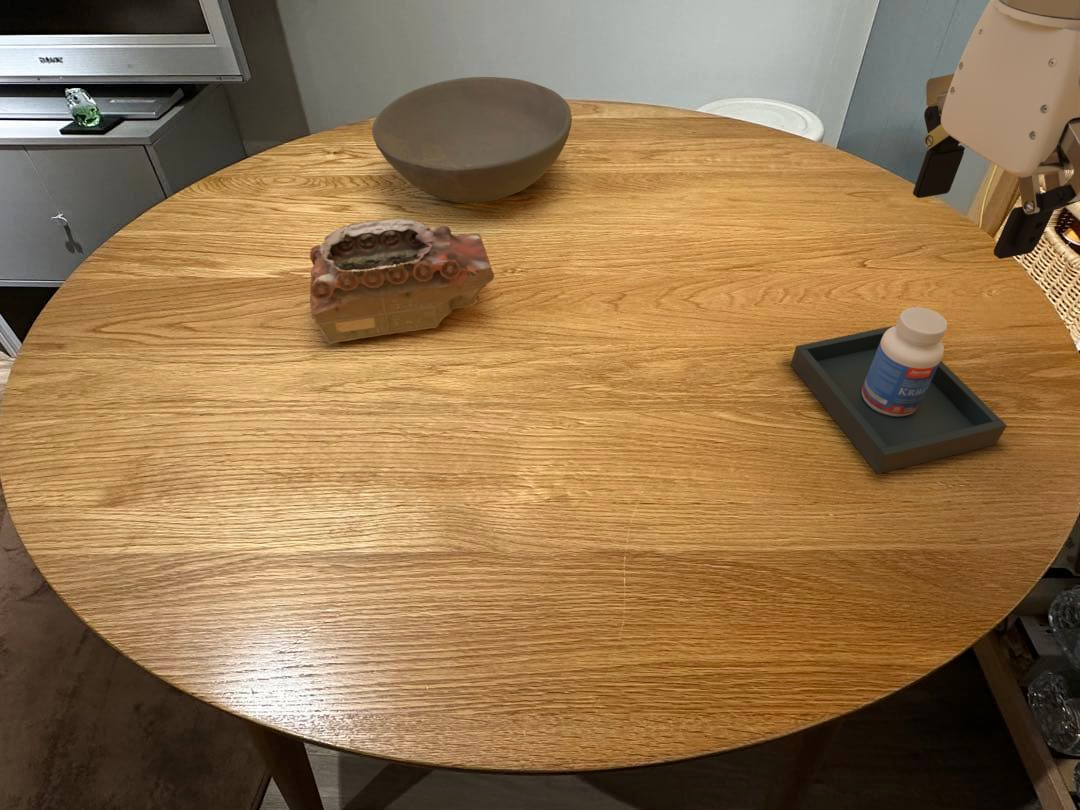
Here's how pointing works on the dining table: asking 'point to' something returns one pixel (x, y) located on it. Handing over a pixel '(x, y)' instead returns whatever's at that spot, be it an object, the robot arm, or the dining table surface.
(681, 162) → the dining table surface
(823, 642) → the dining table surface
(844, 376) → the tray
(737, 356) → the dining table surface
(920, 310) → the pill bottle
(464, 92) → the bowl
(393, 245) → the brown toy tank
